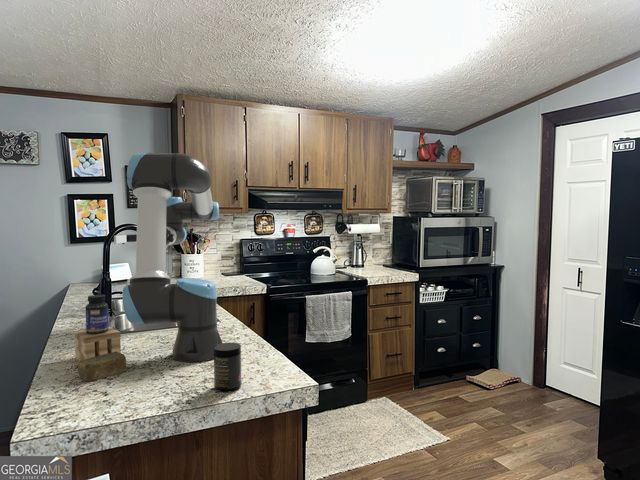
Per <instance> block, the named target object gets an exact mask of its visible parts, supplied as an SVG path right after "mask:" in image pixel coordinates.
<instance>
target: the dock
mask: <svg viewBox="0 0 640 480" xmlns="http://www.w3.org/2000/svg"><path fill="white" fill-rule="evenodd" d="M121 335H122V334H121V331H120V330H118V329H116V328H114V327H113V328H111V327H109V330H108V331H107V332H105V333H101V334H88V333H86V329H84V330H79V331H74V332H73V338H74V353H75V359H76V360H77V361H78V362H79V361H81V360H85V359H89V358H92V357H96V356H100V355H103V354H108V353H112V352H119V353H122V348H121Z"/></svg>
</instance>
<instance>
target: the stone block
mask: <svg viewBox="0 0 640 480" xmlns="http://www.w3.org/2000/svg"><path fill="white" fill-rule="evenodd" d="M127 370H128V369H127V357H126V355H125V354H124V353H122V352H121V353H119V352H112V353H108V354H103V355H100V356H96V357H92V358H89V359H85V360H81V361H79V360H78V363H77V372H78V376H79V378H81V379H82V380H83V381H84V382H93V381H96V380H100V379H103V378H107V377H110V376H114V375H118V374H121V373H124V372H126V371H127Z"/></svg>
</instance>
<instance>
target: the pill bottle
mask: <svg viewBox="0 0 640 480" xmlns="http://www.w3.org/2000/svg"><path fill="white" fill-rule="evenodd" d="M105 300H106V295H105V294H91V295H88V296H87V302H88V303H87V304H86V305H85V330H86V333H88V334H101V333H105V332H107V331H108V330H109V322H108V316H109V304H108V303H107V302H106V301H105Z"/></svg>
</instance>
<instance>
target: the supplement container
mask: <svg viewBox="0 0 640 480" xmlns="http://www.w3.org/2000/svg"><path fill="white" fill-rule="evenodd" d="M213 354H214V359H213V376H214V377H213V382H214V385H213V386H214V389H215V390H216V391H217V390H218V392H220V391H222V393H230V392H229V391H232V392H235V391H237V390H239V389H240V388H241V387H242V382H243V381H242V345H241V344H240V343H238V342H222V343H221V344H217V345H215V346H214V347H213ZM234 390H235V391H234Z"/></svg>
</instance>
